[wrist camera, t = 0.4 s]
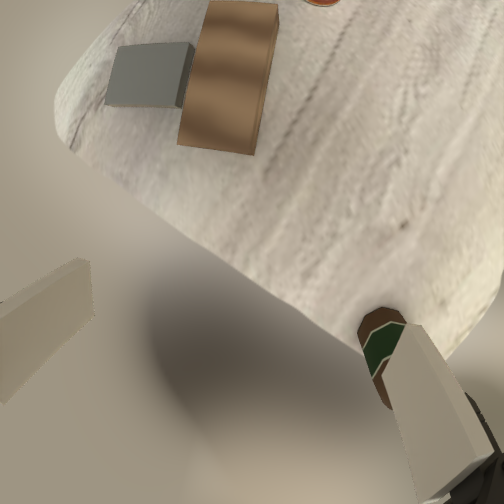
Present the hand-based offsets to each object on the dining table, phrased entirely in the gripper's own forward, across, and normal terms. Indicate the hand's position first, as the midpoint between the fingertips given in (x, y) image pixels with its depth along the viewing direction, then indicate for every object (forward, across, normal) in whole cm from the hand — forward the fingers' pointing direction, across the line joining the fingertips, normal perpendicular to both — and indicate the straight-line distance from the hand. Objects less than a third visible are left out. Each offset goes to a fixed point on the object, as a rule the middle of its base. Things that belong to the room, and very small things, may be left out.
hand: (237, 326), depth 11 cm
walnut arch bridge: (+27, -7, +16) cm, 32 cm away
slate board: (+28, -19, +16) cm, 37 cm away
